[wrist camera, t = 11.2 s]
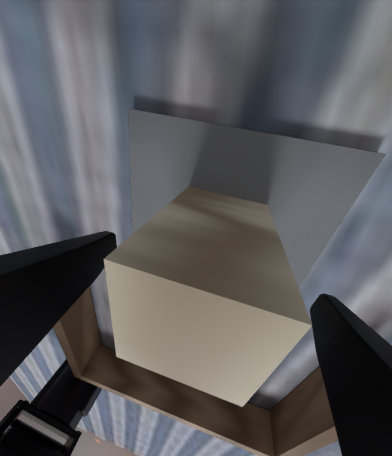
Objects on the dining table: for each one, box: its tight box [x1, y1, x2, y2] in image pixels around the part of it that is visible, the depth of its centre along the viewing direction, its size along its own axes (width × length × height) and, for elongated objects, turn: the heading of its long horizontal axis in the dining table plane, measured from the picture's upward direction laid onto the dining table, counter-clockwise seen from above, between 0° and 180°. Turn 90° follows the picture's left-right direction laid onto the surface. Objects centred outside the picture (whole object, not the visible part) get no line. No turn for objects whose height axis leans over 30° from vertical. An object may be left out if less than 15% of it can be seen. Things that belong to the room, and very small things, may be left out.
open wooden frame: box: [53, 286, 338, 456], centre depth 17 cm, size 25×17×4 cm
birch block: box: [104, 187, 312, 407], centre depth 8 cm, size 4×4×7 cm
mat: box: [128, 109, 385, 287], centre depth 11 cm, size 12×10×1 cm
